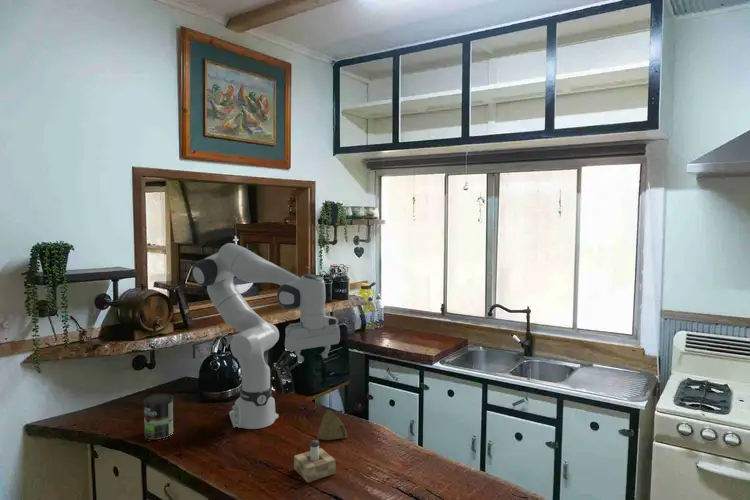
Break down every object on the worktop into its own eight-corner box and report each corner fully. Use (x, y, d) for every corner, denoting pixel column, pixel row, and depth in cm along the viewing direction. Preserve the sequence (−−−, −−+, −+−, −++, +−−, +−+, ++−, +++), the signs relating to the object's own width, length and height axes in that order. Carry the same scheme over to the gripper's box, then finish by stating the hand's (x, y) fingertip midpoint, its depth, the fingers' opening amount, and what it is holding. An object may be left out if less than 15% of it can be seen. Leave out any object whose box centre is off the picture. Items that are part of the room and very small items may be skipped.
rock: (353, 428, 190) (332, 419, 195) (348, 416, 184) (327, 407, 189) (339, 453, 183) (317, 443, 188) (333, 441, 178) (311, 431, 183)
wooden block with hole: (294, 468, 164) (294, 455, 163) (320, 460, 169) (321, 447, 169) (307, 482, 155) (307, 468, 155) (335, 473, 161) (335, 460, 161)
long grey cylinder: (308, 470, 163) (308, 441, 162) (316, 468, 164) (316, 438, 164) (312, 474, 160) (312, 444, 160) (320, 471, 162) (320, 442, 161)
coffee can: (157, 443, 181) (157, 405, 180) (138, 437, 185) (137, 400, 184) (179, 432, 190) (179, 396, 189) (160, 427, 194) (159, 392, 193)
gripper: (289, 326, 165) (289, 366, 166) (342, 319, 176) (342, 357, 177) (281, 322, 170) (281, 362, 171) (333, 316, 181) (333, 353, 182)
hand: (312, 359), depth 174 cm, fingers open, 8 cm apart
